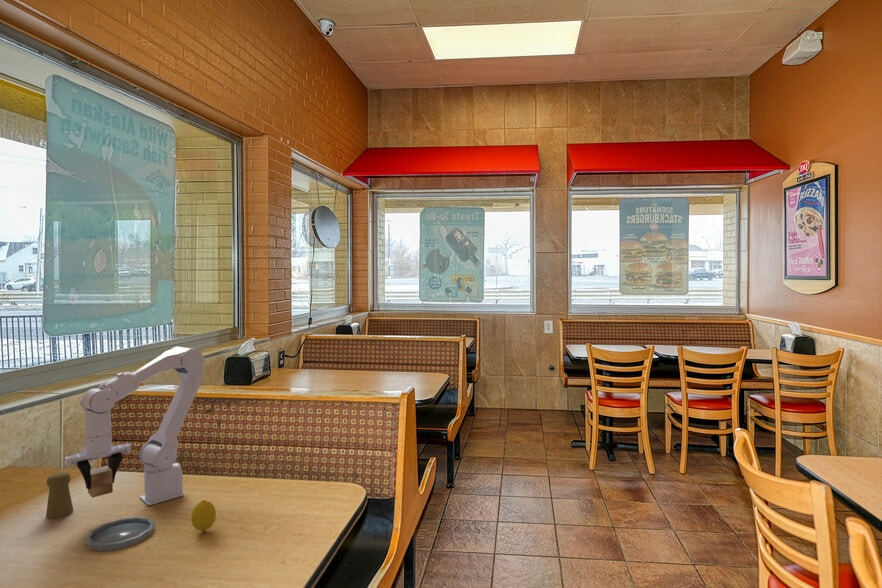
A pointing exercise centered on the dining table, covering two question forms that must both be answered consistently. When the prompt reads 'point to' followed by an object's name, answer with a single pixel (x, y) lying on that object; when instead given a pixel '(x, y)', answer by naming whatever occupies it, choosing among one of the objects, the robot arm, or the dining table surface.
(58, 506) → the cork
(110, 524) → the plate
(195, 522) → the lemon
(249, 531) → the dining table surface
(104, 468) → the block
